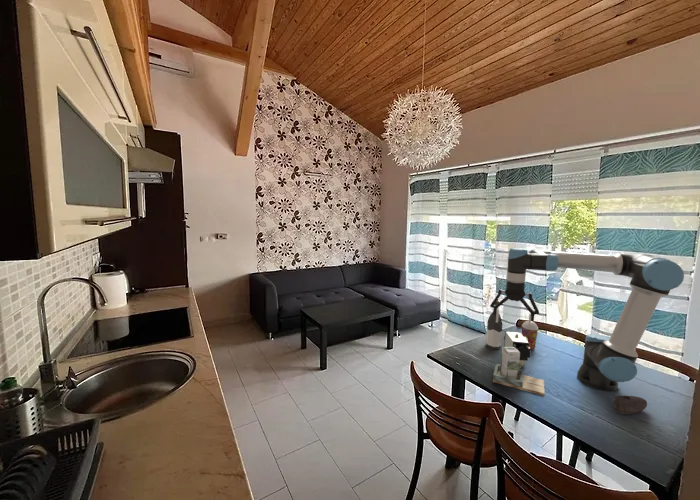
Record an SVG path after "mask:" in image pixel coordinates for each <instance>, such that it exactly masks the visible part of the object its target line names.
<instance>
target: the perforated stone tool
mask: <svg viewBox="0 0 700 500" xmlns="http://www.w3.org/2000/svg"><path fill="white" fill-rule="evenodd" d="M612 403H613V405H614V410H615V412H617V414H619V415H632V414H633V415H634V414H637V413H640V412H643V411H644V410H645V409H646V408H647V406H648V402H647V400H646V399H645V398H643V397H639V396H635V395H625V394H624V395H615V396H614V400H613V402H612Z"/></svg>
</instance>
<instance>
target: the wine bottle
mask: <svg viewBox="0 0 700 500" xmlns="http://www.w3.org/2000/svg"><path fill="white" fill-rule="evenodd" d="M499 302H500V301H499V299H498V300H497V301H496V303H495V304H494V305H497V304H498V303H499ZM486 324H487V325H486V326H487V327H486V338H485V339H486V342H485V343H486V344H485V345H486V347H487V348H488V349H492V350H499V349H500V350H501V349H502V337H503V336H502V335H503V333H502V332H503V321H502V317H501V315H500V314H499V315H498V323H496V315H494V309H493V311H492V312H491V313H490V314H489V316H488V319H487V323H486Z"/></svg>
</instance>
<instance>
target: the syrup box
mask: <svg viewBox="0 0 700 500" xmlns="http://www.w3.org/2000/svg"><path fill="white" fill-rule="evenodd" d="M501 350H502V351H501V359H500V365H501V370H500V374H501V375H502V376H504V377H508V378H512V379H516V380H517V379H518V369H519V359H520V352H519V351H518V350H517V349H516V348H515V347H504V346H501Z"/></svg>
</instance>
